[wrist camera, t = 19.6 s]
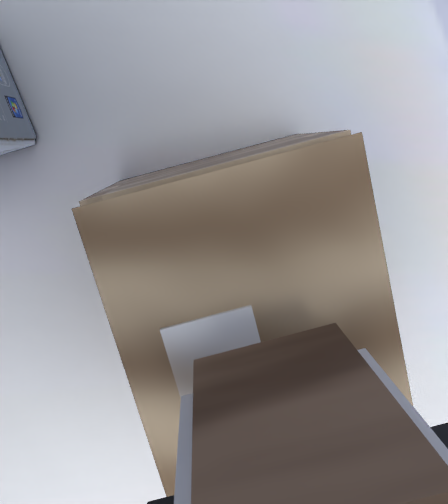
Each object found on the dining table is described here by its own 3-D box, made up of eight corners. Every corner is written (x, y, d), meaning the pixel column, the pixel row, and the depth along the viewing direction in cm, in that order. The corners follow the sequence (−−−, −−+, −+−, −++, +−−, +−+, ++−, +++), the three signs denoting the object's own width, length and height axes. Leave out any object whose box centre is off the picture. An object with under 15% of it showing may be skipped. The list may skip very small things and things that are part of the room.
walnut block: (193, 360, 14) (189, 559, 7) (335, 322, 14) (464, 487, 7) (229, 476, 15) (254, 738, 9) (359, 442, 15) (488, 678, 9)
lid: (79, 206, 17) (69, 209, 16) (353, 134, 17) (363, 131, 16) (181, 519, 20) (179, 540, 19) (414, 458, 20) (427, 475, 19)
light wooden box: (120, 180, 27) (78, 201, 18) (295, 134, 27) (350, 129, 18) (186, 385, 32) (181, 492, 22) (337, 345, 31) (400, 435, 22)
